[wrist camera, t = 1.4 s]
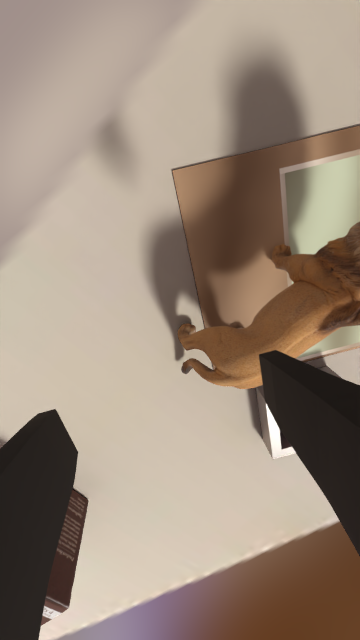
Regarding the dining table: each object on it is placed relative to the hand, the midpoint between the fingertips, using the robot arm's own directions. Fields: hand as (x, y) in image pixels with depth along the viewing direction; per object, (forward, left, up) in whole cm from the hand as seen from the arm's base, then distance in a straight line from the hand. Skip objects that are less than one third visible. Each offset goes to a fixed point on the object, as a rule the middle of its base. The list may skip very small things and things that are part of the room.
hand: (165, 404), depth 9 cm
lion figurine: (-7, 0, -10) cm, 12 cm away
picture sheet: (-12, 0, -10) cm, 15 cm away
